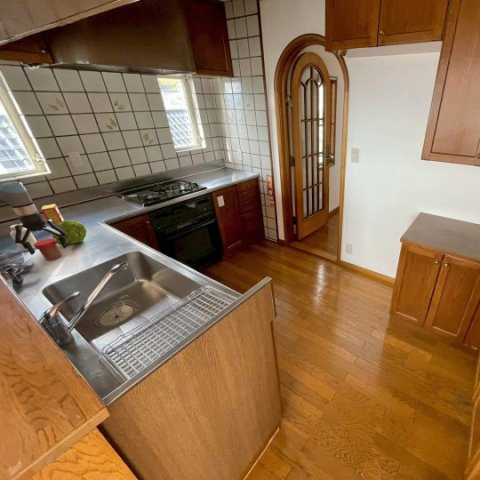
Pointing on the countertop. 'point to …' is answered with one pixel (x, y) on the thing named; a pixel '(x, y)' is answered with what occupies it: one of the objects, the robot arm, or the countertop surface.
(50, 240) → the cap
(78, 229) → the lettuce
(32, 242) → the pill bottle
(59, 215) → the baking soda box
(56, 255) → the jar
